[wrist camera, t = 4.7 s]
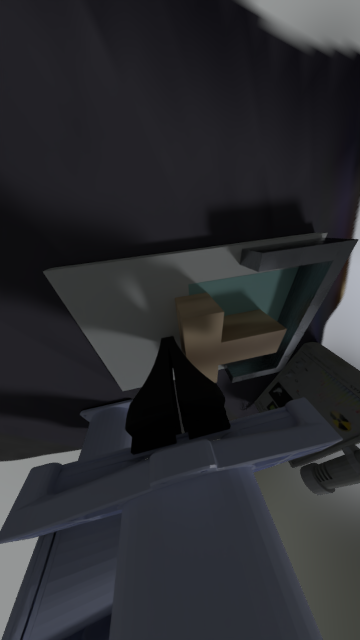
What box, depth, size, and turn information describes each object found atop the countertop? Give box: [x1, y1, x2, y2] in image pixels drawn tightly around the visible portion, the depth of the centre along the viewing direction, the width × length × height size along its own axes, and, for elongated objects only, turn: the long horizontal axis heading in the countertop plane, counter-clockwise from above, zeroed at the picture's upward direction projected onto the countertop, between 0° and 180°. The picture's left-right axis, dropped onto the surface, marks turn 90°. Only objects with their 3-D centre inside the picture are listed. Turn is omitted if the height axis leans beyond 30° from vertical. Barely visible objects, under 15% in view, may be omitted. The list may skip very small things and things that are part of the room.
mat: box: [43, 233, 327, 391], centre depth 15 cm, size 16×22×1 cm
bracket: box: [224, 238, 358, 383], centre depth 14 cm, size 15×7×2 cm, turn 5°
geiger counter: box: [254, 342, 360, 495], centre depth 23 cm, size 14×6×25 cm
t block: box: [175, 292, 287, 383], centre depth 13 cm, size 9×9×4 cm
